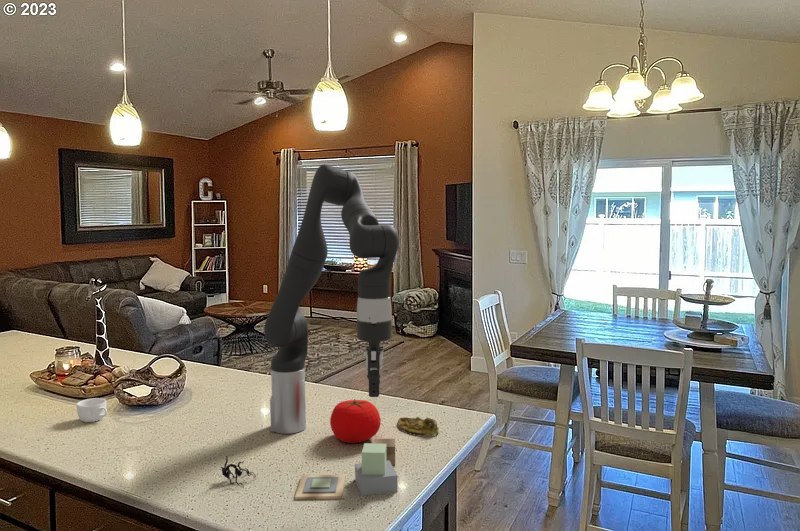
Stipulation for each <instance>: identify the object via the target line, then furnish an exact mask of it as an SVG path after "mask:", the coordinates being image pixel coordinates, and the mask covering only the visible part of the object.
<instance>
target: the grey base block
mask: <svg viewBox="0 0 800 531" xmlns="http://www.w3.org/2000/svg"><path fill="white" fill-rule="evenodd" d="M386 462H387V465H386V471H385V475H362V462H361V463H354V469H355V470H354V475H355V476H354V479H355V483H356V485H357V487H358V490H359V494H360V496H362V497H363V496H371V495H372V496H373V495H381V494H388V493H397V492H398V474H397V472H396V470H395V468H394V467H393V466H392V464H391V462H390V460H387V461H386Z"/></svg>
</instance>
